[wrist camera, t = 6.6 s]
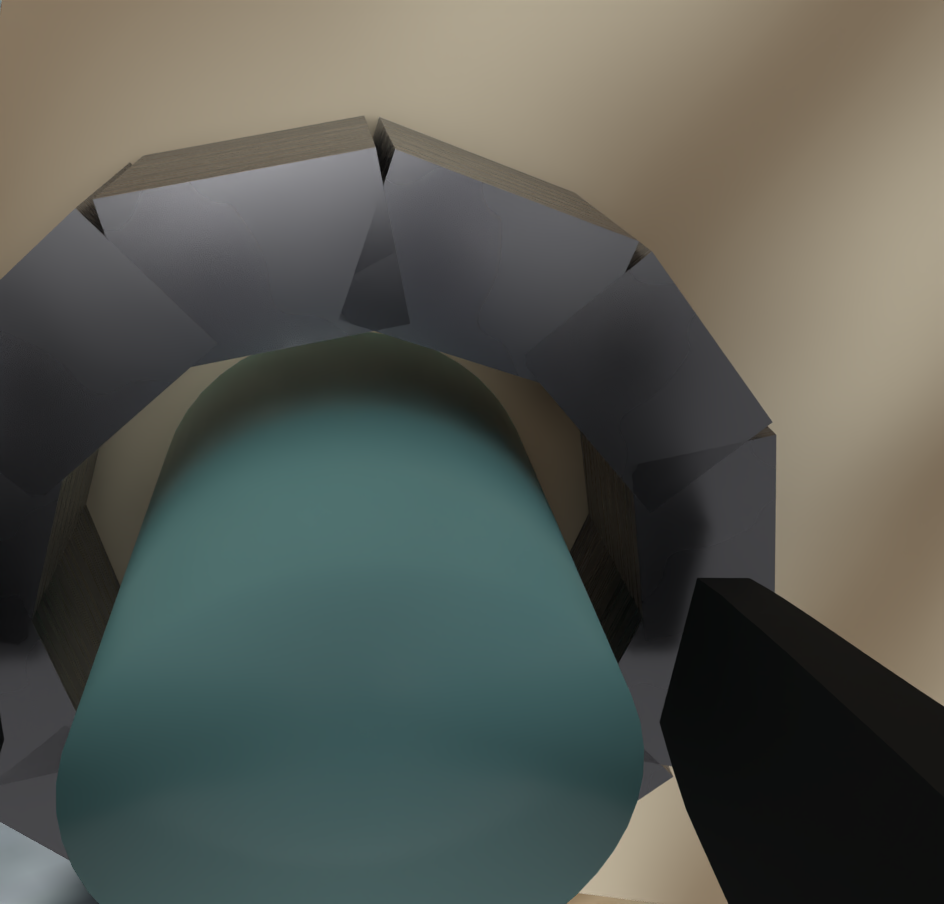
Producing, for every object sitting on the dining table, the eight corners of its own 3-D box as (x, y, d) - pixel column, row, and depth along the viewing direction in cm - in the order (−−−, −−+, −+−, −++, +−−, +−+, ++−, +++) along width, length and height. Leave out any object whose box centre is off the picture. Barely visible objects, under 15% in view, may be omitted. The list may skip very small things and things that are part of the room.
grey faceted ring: (823, 288, 11) (936, 354, 9) (535, 814, 15) (570, 947, 13) (28, -19, 9) (-68, -25, 7) (-92, 714, 12) (-178, 863, 10)
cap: (574, 372, 11) (729, 612, 7) (475, 664, 13) (549, 993, 9) (186, 293, 10) (80, 519, 6) (142, 624, 12) (37, 981, 8)
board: (1534, -231, 11) (1662, -255, 10) (761, 868, 18) (787, 920, 17) (253, -1293, 6) (240, -1548, 5) (-88, 739, 14) (-121, 799, 13)
